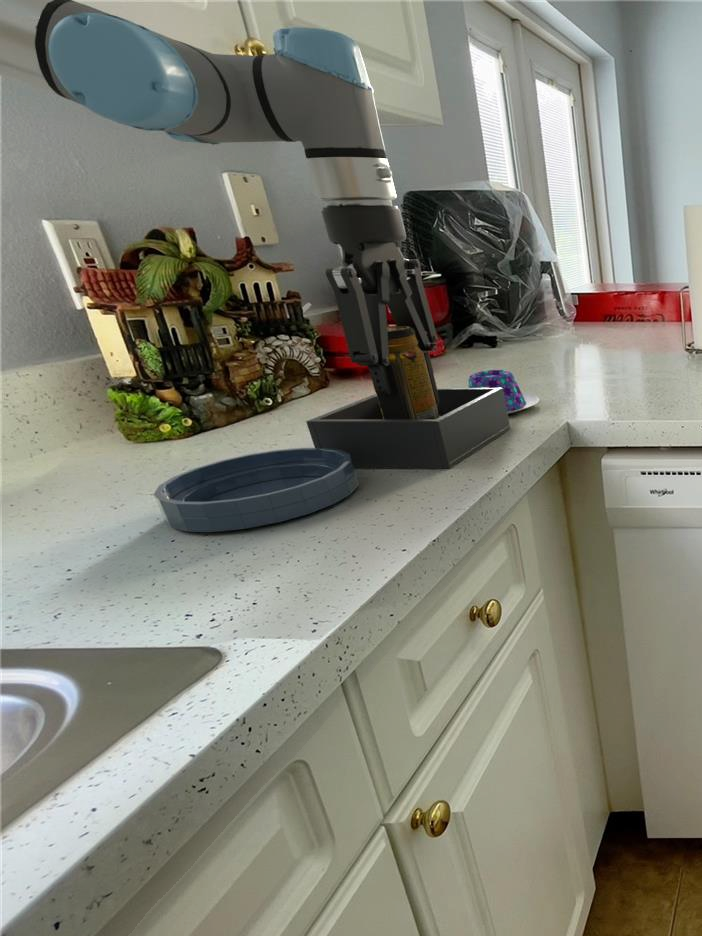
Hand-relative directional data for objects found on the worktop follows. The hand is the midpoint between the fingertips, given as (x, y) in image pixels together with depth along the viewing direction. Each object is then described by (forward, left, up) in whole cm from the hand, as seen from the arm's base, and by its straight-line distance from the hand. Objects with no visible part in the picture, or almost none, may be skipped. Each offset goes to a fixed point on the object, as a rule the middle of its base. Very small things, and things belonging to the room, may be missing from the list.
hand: (413, 412), depth 87 cm
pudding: (+1, +18, -5) cm, 19 cm away
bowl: (-6, -18, -4) cm, 19 cm away
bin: (0, 0, -4) cm, 4 cm away
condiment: (0, +1, -2) cm, 2 cm away
